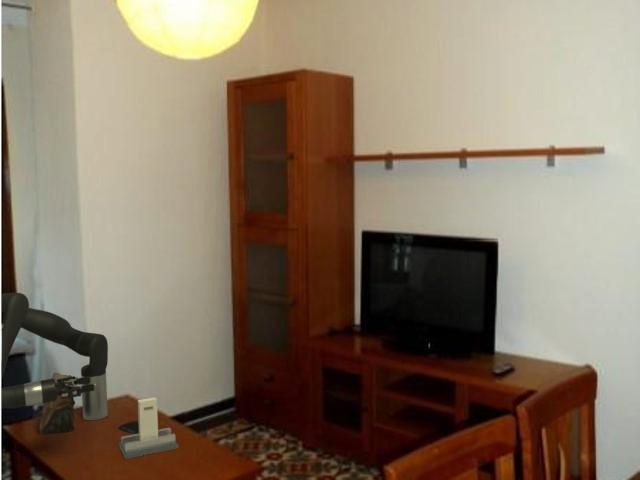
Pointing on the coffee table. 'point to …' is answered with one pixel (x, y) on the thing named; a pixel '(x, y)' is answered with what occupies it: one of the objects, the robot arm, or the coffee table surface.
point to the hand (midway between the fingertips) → (92, 383)
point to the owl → (57, 413)
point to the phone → (130, 427)
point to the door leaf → (147, 418)
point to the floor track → (147, 444)
